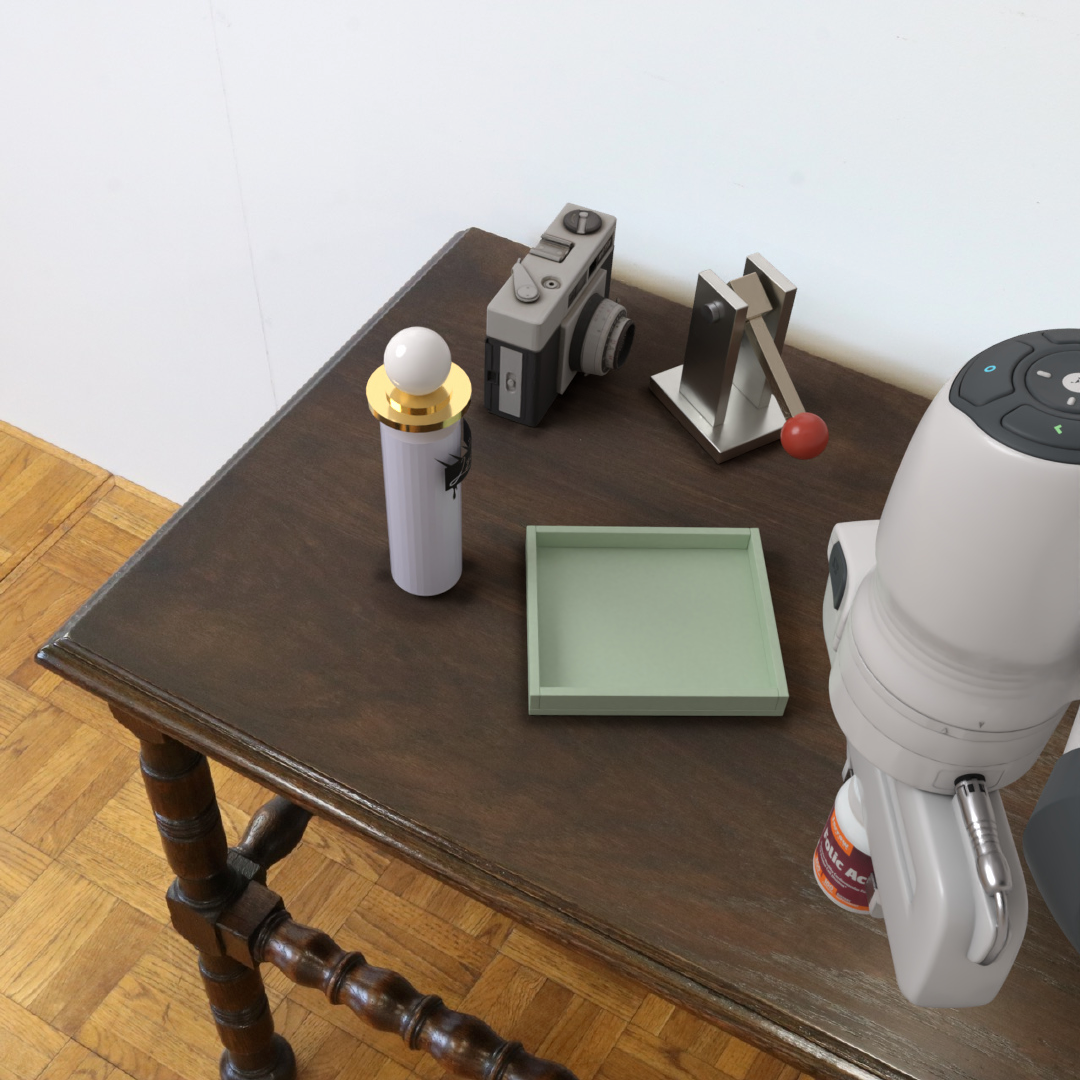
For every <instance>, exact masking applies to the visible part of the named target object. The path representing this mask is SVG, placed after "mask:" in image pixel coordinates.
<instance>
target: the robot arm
mask: <svg viewBox="0 0 1080 1080" xmlns="http://www.w3.org/2000/svg"><path fill="white" fill-rule="evenodd" d="M827 545H828V546H827V560H828V571H829V573H828V577H827V580H826V587H825V591H824V597H823V602H822V603H823V604H822V628H823V636H824V641H825V644H826V645H825V646H826V649H827V653H828V658H829V663H830V672H829V679H828V694H829V701H830V705H831V709H832V712H833V715H834V718H835V720H836V722H837V725H838V726H839V728H840V730H841V731H842V733H843V735H844V736H845V739H846V760H845V762H844V766H843V769H842V771H841V777H842V781H843V784H844V783H845V782H846V781H847V780H848V779H850V778H851V777H852V776H853V775H854V774H855V776H856V781H857V786H858V791H859V795H860V800H861V808H862V816H863V821H864V826H865V830H866V835H867V840H868V845H869V849H870V854H871V859H872V864H873V868H874V873H871V874H870V876H869V878H868V883H866V885H865V889H866V895H867V900H868V905H869V911H870V917H871V918H874V919H883V921H884V925H885V930H886V935H887V940H888V944H889V947H890V954H891V958H892V963H893V968H894V973H895V979H896V983H897V986H898V989H899V991H900V993H901V995H902V996H903V997H904V998H905V999H906V1000H908V1001H909V1002H910V1003H911V1004H912V1005H914V1006H916V1007H920V1008H929V1009H963V1008H964V1009H965V1008H966V1009H967V1008H975V1007H982V1006H985V1005H988V1004H990V1003H991V1002H992V1001H994V999H995V998H996V997H997V996H998V994H999V992H1000V990H1001V988H1002V987H1003V985H1004V983H1005V981H1006V980H1007V978H1008V976H1009V974H1010V972H1011V970H1012V967H1013V965H1014V963H1015V962H1016V959H1017V956H1018V954H1019V952H1020V949H1021V947H1022V943H1023V941H1024V938H1025V935H1026V930H1027V926H1028V920H1029V898H1028V897H1029V896H1028V890H1027V885H1026V884H1027V883H1026V880H1025V875H1024V871H1023V867H1022V864H1021V861H1020V857H1019V853H1018V851H1017V847H1016V844H1015V840H1014V837H1013V833H1012V829H1011V826H1010V822H1009V819H1008V817H1007V813H1006V810H1005V806H1004V803H1003V799H1002V796H1001V793H1000V789H1002V788H1005V787H1007V786H1009V785H1011V784H1013V783H1015V782H1017V780H1019V779H1021V778H1022V777H1023V776H1025V775H1026V773H1027V772H1029V771H1030V770H1031V768H1033V766H1034V765H1035V763H1037V760H1038V759H1039V757H1040V756H1041V754H1042V752H1043V751H1044V749H1045V748H1046V746H1047V744H1048V743H1049V740H1050V739H1051V737H1052V736H1053V734H1054V732H1055V731H1056V729H1057V728H1058V725H1059V724H1060V723H1061V720H1062V719H1063V717H1064V715H1066V712H1067V710H1068V709H1069V707H1070V705H1071V704H1072V702H1074V701H1080V328H1076V327H1075V328H1072V327H1071V328H1070V327H1068V328H1051V329H1050V328H1049V329H1043V330H1042V329H1041V330H1036V331H1032V332H1026V333H1022V334H1018V335H1016V336H1013V337H1010V338H1007V339H1004V340H1002V341H999V342H997V343H995V344H992V345H991V346H989V347H987V348H986V349H984V350H982V351H981V352H978V353H977V354H976V355H974V356H973V357H972V358H970V359H969V360H967V361H966V362H965V363H964V364H963V365H961V366H960V368H959V369H957V370H956V371H954V373H953V374H952V375H951V376H950V377H949V379H948V380H947V381H946V382H945V383H944V384H943V385H942V386H941V388H940V389H939V391H938V392H937V394H936V395H935V396H934V398H933V399H932V400H931V403H930V404H929V405H928V407H927V409H926V410H925V412H924V414H923V415H922V417H921V419H920V421H919V422H918V424H917V427H916V428H915V431H914V433H913V435H912V436H911V439H910V441H909V443H908V446H907V448H906V450H905V452H904V454H903V457H902V459H901V462H900V465H899V467H898V469H897V472H896V474H895V476H894V479H893V482H892V484H891V487H890V489H889V492H888V496H887V498H886V500H885V504H884V507H883V510H882V512H881V515H880V518H879V519H868V520H855V521H846V522H845V521H843V522H837V523H836V524H835V525H834V526H833V528H832V531H831V534H830V536H829V540H828V544H827ZM1047 778H1048V779H1047V780H1046V782H1045V785H1044V787H1043V788H1042V791H1041V793H1040V795H1039V798H1038V800H1037V802H1036V804H1035V806H1034V808H1033V810H1032V813H1031V815H1030V817H1029V819H1028V821H1027V823H1026V825H1025V828H1024V831H1023V834H1022V852H1023V856H1024V859H1025V862H1026V865H1027V867H1028V869H1029V872H1030V874H1031V876H1032V878H1033V880H1034V883H1035V885H1036V887H1037V891H1039V893H1040V896H1041V897H1042V899H1043V901H1044V903H1045V905H1046V907H1047V908H1048V911H1049V912H1050V914H1051V916H1052V917H1053V919H1054V921H1055V922H1056V924H1057V926H1058V927H1059V929H1060V931H1061V932H1062V933H1063V934H1064V936H1065V937H1066V939H1067V941H1069V943H1070V945H1071V946H1072V947H1073V949H1074V950H1075V951H1076V952H1077V954H1078V955H1079V956H1080V705H1079V706H1078V710H1077V711H1076V715H1075V718H1074V721H1073V724H1072V726H1071V730H1070V732H1069V736H1068V739H1067V742H1066V744H1065V747H1064V751H1063V753H1062V755H1060V757H1058V759H1056V761H1055V763H1054V765H1053V767H1052V770H1051V772H1050V774H1049V776H1048V777H1047Z"/></svg>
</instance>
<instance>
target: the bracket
mask: <svg viewBox="0 0 1080 1080" xmlns="http://www.w3.org/2000/svg"><path fill="white" fill-rule="evenodd" d="M754 272H756V273H757V275H758V278H759V280H760V282H761V284H762V286H763V289H764V291H765V293H766V295H767V297H768V299H769V302H770V304H771V306H772V308H773V309H772V310H771V311H770V312H769V313H767V314H766V315H765V316H763V320H764V322H765V324H766V326H767V328H768V331H769V333H770V335H771V337H772V339H773V342H774V344H775V346H776V348H777V350H778V352H779V355H780V357H781V358H782V353H783V350H784V345H785V341H786V337H787V334H788V333H787V332H788V328H789V324H790V321H791V316H792V313H793V308H794V305H795V300H796V296H797V291H798V287H797V286H796V285H795V284H794V283H793V282H792V281H790V280H789V279H788V278H787V277H786V276H785V275H784V274H783V273H782V272H781V271H780V270H778V269H777V267H775V266H774V265H773V264H772V263H771V262H769V261H768V260H767V259H766V257H764V256H763V255H762V254H761V253H760V252H755V253H752V254H749V255H747V256H746V258H745V262H744V268H743V272H742V277H743V276H745V275H748V274H751V273H754ZM695 287H696V288H695V293H694V299H693V305H692V309H691V315H690V322H689V327H688V334H687V340H686V347H685V352H684V357H683V364H680V365H678V366H675V367H671V368H669V369H666V370H663V371H661V372H658V373H656V374H653V375H650V376H649V382H648V389H649V390H650V392H652V394H653V395H654V396H655V397H656V398H657V399H658V400H659V401H660V403H662V404H663V405H664V407H665V408H666V409H667V410H668V411H669V412H670V413H671V415H672V416H673V417H674V418H675V419H676V420H677V421H678V422H679V423H680V424H681V425H682V426H683V428H684V429H685V430H686V431H687V432H688V433H689V434H690V435H691V436H692V437H693V439H695V441H696V442H697V443H698V444H699V445H700V446H701V448H703V449H704V451H706V453H707V454H708V455H709V456H710V457H711V458H712V459H713V460H714V461H715V463H716V464H721V463H724V462H727V461H729V460H731V459H734V458H737V457H739V456H741V455H744V454H746V453H749V452H751V451H753V450H756V449H758V448H761V447H763V446H765V445H768V444H771V443H773V442H775V441H777V440H781V439H780V435H781V429H782V427H783V425H784V423H785V422H786V420H785V418H784V416H783V414H782V411H781V409H780V407H779V405H778V403H777V400H776V398H775V396H774V394H773V392H772V389H771V387H770V385H769V383H768V381H767V378H766V376H765V374H764V372H763V370H762V367H761V365H760V363H759V361H758V359H757V356H756V354H755V352H754V350H753V348H752V345H751V343H750V341H749V339H748V337H747V334H746V332H745V330H744V326H745V321H746V316H747V311H748V307H749V306H748V304H747V303H746V302H745V301H743V300H742V299H741V298H740V297H739V296H738V295H737V294H736V293H735V292H734V291H733V290H732V289H731V288H730V287H729V286H728V285H727V283H726V282H725V281H724V280H723V279H721V278H720V276H718V274H716V272H714V271H713V269H712V268H709V269H706V270H705V269H704V271H703V270H702V271H700V272H698V274H697V281H696V286H695Z"/></svg>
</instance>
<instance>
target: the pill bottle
mask: <svg viewBox="0 0 1080 1080" xmlns="http://www.w3.org/2000/svg"><path fill="white" fill-rule="evenodd" d="M812 867H813V875H814V879H815V880H816V882H817V885H818V887H819V888H820V890H821V891H822V893H824V895H825V896H826V897H827V898H828V899H829V900H830V901H831V902H833V903H834V904H835V905H837V906H838V907H839V908H841V909H842V910H843V909H844V910H845V911H848V912H851V913H854V914H859V915H870V911H869V905H868V900H867V895H866V889H865V885H866V883H868V878H869V876H870V874H871V873H874V868H873V864H872V859H871V854H870V849H869V845H868V840H867V835H866V830H865V826H864V821H863V816H862V808H861V800H860V795H859V791H858V786H857V781H856V776H855V774H854V775H853V776H852V777H851V778H850V779H848V780H847V781H846V782H845V783H843V784H842V785H841V787H840V788H839V789H838V792H837V794H836V796H835V798H834V802H833V805H832V808H831V810H830V812H829V815H828V817H827V820H826V821H825V824H824V827H823V830H822V833H821V835H820V837H819V840H818V842H817V845H816V847H815V849H814V853H813V858H812ZM870 916H871V915H870Z"/></svg>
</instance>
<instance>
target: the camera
mask: <svg viewBox="0 0 1080 1080" xmlns="http://www.w3.org/2000/svg"><path fill="white" fill-rule="evenodd" d="M617 220H618V219H617V217H616V216H615V215H612V214H609V213H606V212H602V211H599V210H596V209H592V208H588V207H586V206H581V205H578V204H575V203H572V202H566V203H565V205H564V206H563V207H562V209H561V210H560V211H559V212H558V214H556V216H555V218H554V219H553V220H552V221H551V223H550V224H549V226H548V227H547V228H546V230H545V231H544V232H543V233H541V235H540V238H541V239H540V240H539V242H538V243H537V245H536V246H535V247H534V246H532V247H531V248H530V249H529V253H527V255H525V257H524V258H523V259H522V258H521V257H518V258H517V261H516V263H514V265H513V266H512V268H511V269H510V276H509V278H508V279H507V280H506V281H505V283H503V285H502V287H500V289H499V290H498V292H497V293H496V294H495V296H494V297H493V298H492V299H491V301H490V302H489V303H488V304H487V307H486V333H485V337H484V359H483V360H484V363H483V364H484V365H483V366H484V368H483V369H484V370H483V384H484V385H483V408H484V409H486V410H487V412H488V413H490V414H493V415H495V416H499V417H500V418H504V419H507V420H510V421H513V422H516V423H518V424H522V425H525V426H529V427H532V428H535V427H537V426H538V425H539V423H540V422H541V421H542V419H543V418H544V416H545V415H546V413H547V411H548V410H549V408H550V407H551V406H552V404H553V402H555V400H556V399H557V397H558V395H559V394H560V395H563V394H564V393H565V391H566V390H567V388H568V386H569V385H570V383H571V382H572V380H574V378H575V376H576V374H577V373H578V372H580V373H584V374H583V376H584V377H587V376H589V375H595V376H602V377H603V376H605V375H607V373H608V372H609V371H610V370H611V369H612V370H617V371H618V370H620V369H622V367H623V366H624V365H625V363H626V361H627V359H628V357H629V355H630V352H631V349H632V346H633V344H634V339H635V334H636V323H635V321H634V320H632V318H628V312H627V308H626V307H625V306H623V305H622V304H620V302H621V298H619V297H616V299H615V301H614V300H612V299H610V291H611V280H612V279H611V278H612V272H613V271H612V270H613V261H614V254H615V253H614V251H615V241H616V230H617Z"/></svg>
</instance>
